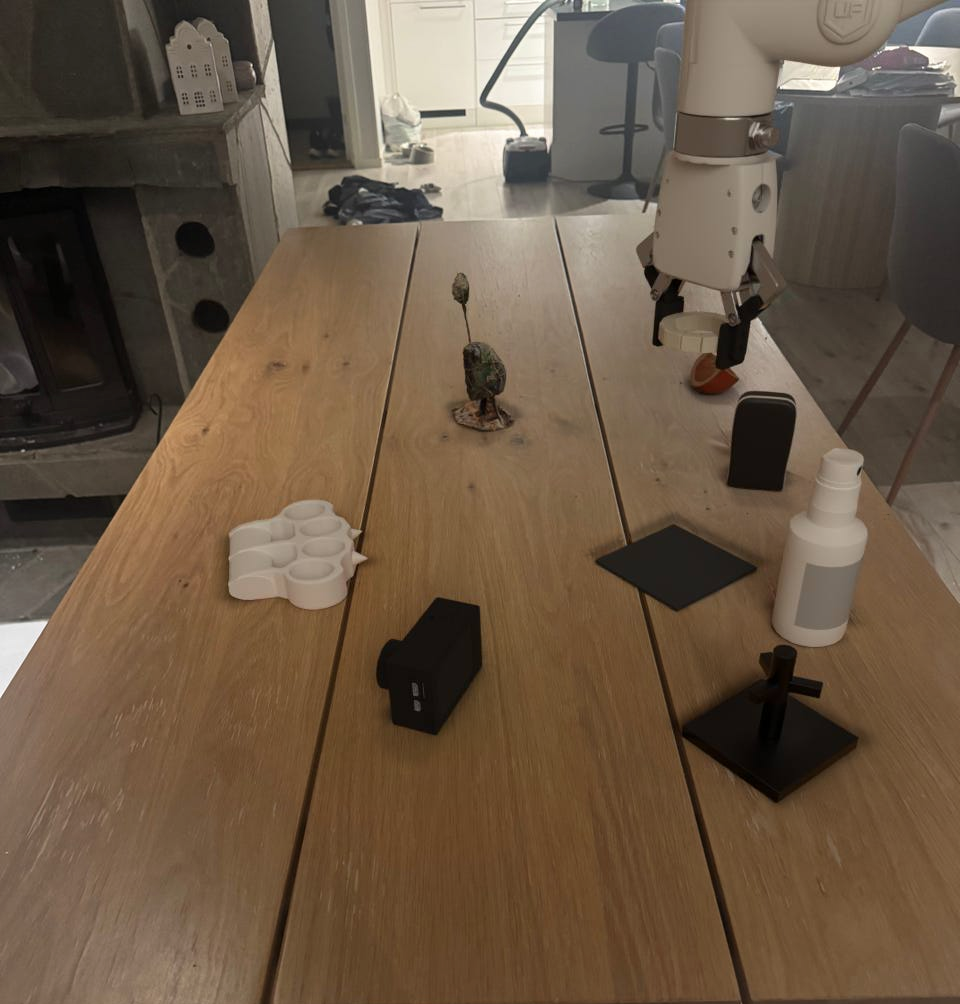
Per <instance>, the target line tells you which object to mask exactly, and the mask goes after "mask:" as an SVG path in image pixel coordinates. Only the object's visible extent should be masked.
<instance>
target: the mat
mask: <svg viewBox="0 0 960 1004" xmlns="http://www.w3.org/2000/svg"><path fill="white" fill-rule="evenodd" d="M594 563H595V564H596V565H598V566H600V567H601V568H603V569H605V570H606V571H609V573H612V574H613V575H615V576H616V577H618V578H620V579H622V580H623V581H625V582H626V583H628V584H630V585H632V586H633V587H634V588H636V589H638V590H640V591H642V592H643V593H645V594H646V595H648V596H651V598H653V599H655V600H657V601H658V602H659V603H662V604H663V605H665V606H667V607H668V608H670V609H672V610H673V611H675V612H679V611H681V610H683V609H685V608H687V607H688V606H691V605H692V604H695V603H696V602H698V601H700V600H703V599H704V598H706V597H708V596H710V595H712V594H714V593H716V592H718V591H719V590H721V589H724V588H726V587H727V586H729V585H731V584H733V583H735V582H737V581H739V580H741V579H743V578H745V577H746V576H748V575H750V574H752V573H755V572H756V571H758V566H756V565H755V564H752V563H750V562H749V561H747V560H745V559H743V558H741V557H739V556H737V555H735V554H733V553H732V552H729V551H727V550H725V549H723V548H722V547H719V546H717V545H716V544H714V543H712V542H709V540H707V539H704V538H702V537H701V536H698V535H697V534H694V533H693V532H691V531H689V530H687V529H685V528H683V527H681V526H680V525H677V524H676V523H673V524H670V525H668V526H666V527H663V528H661V529H660V530H658V531H655V532H653V533H650V534H649V535H646V536H645V537H641V538H639V539H638V540H636V541H633V542H631V543H629V544H627V545H625V546H622V547H620V548H618V549H616V550H614V551H612V552H609V553H607V554H605V555H603V556H600V557H598V558H595V560H594Z"/></svg>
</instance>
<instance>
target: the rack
mask: <svg viewBox="0 0 960 1004" xmlns="http://www.w3.org/2000/svg"><path fill="white" fill-rule="evenodd" d="M797 659H798V650H797V648H795V647H794V646H792V645H789V644H778V645H776V646H775V647H773V650H772V651H767V652H760V653H759V658H758V664H759V665H760V667H761V669H762V671H763V672H764V674H765V676H766V679H764V678H760V679H759V680H756V681H755V682H753V683H752V684H750V685H748V686H747V687H745V688H743V689H742V690H740V691H738V692H737V693H735V694H733V695H732V696H730V697H728V698H727V699H725V700H723V701H722V702H720V703H718V704H717V705H715V706H713V707H712V708H710V709H709V710H706V711H705V712H703V713H702V714H700V715H698V716H697V717H695V718H694V719H692V720H690V721H688V722H687V723H685V724H683V725H682V731H681V737H682V738H684V739H686V741H688V742H689V743H691V744H692V745H694V746H695V747H696V748H698V749H699V750H701V751H702V752H704V753H705V754H707V755H708V756H709V757H710V758H712V759H714V760H715V761H716V762H718V763H719V764H720V765H722V766H723V767H724V768H726V769H727V770H729V771H730V772H731V773H733V774H735V775H736V776H737V777H739V778H740V779H741V780H743V781H744V782H746V783H747V784H748V785H750V786H751V787H752V788H754V789H755V790H757V791H758V792H760V793H761V794H763V795H764V796H765V797H767V798H768V799H769V800H770V801H772V802H774V803H775V804H778V803H780V802H781V801H783V800H784V799H786V797H788V796H790V795H791V794H792V793H794V792H795V791H797V790H798V789H799V788H802V786H804V785H805V784H807V783H808V782H810V781H812V779H814V778H816V777H817V776H818V775H820V774H821V773H822V772H825V770H827V769H828V768H830V767H831V766H832V765H834V764H835V763H837V762H838V761H840V760H841V759H842V758H844V757H845V756H847V755H849V754H850V753H851V752H852V751H854V750H855V749H856V748H857V746H858V743H859V739H860V737H859V736H857V735H855V734H854V733H852V732H851V731H849V730H847V729H846V728H844V727H843V726H841V725H840V724H838V723H836V722H834V721H832V719H829V718H827V717H826V716H824V715H823V714H821V713H820V712H818V711H816V710H814V709H813V708H812V707H810V706H808V705H807V704H805V703H803V702H802V701H800V700H798V699H797V698H795V697H794V696H792V695H790V693H791V694H796V695H800V696H806V697H810V698H813V699H818V700H819V699H821V695H822V691H823V686H824V682H823V681H820V680H816V679H810V678H805V677H801V676H797V675H794V673H795V668H796V662H797Z"/></svg>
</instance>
